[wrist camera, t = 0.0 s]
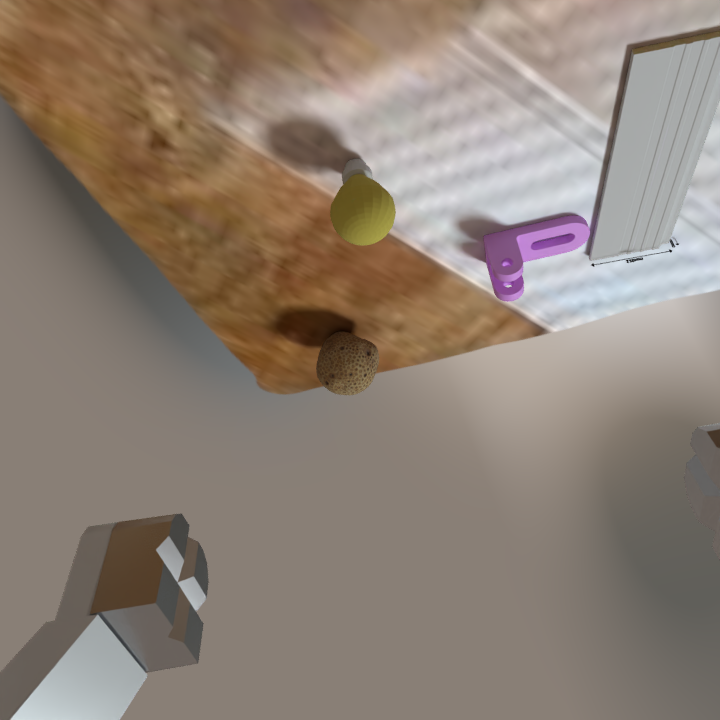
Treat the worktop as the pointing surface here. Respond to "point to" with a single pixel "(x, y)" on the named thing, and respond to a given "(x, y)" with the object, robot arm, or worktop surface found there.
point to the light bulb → (361, 206)
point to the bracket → (529, 250)
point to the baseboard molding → (657, 143)
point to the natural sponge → (347, 363)
